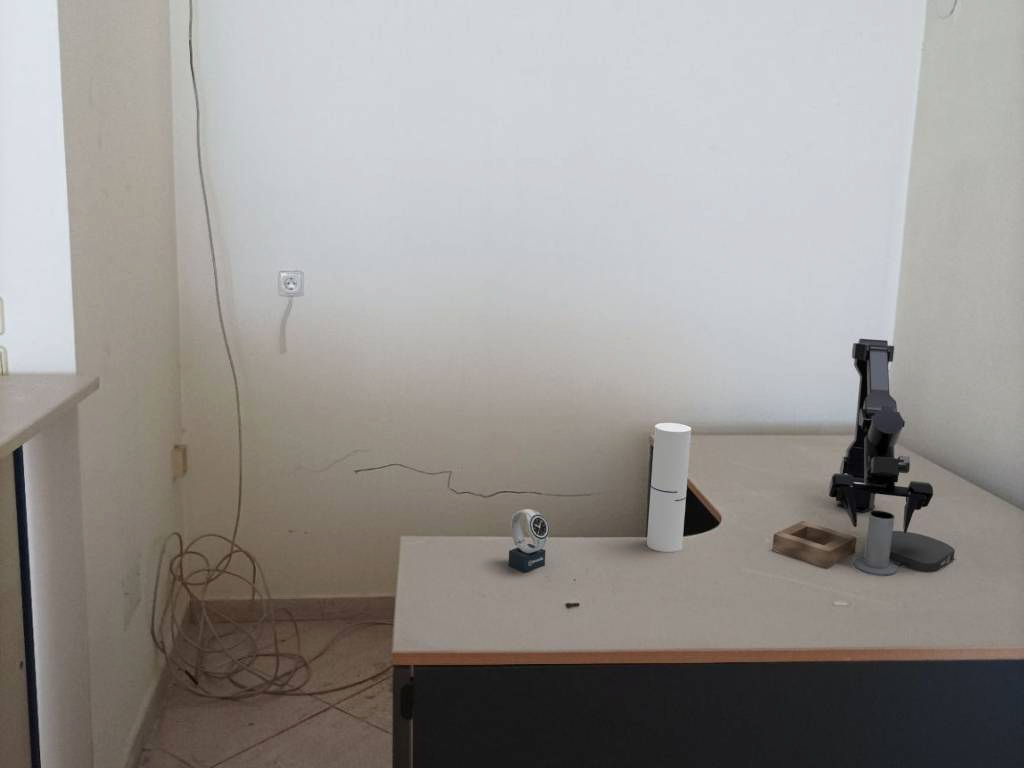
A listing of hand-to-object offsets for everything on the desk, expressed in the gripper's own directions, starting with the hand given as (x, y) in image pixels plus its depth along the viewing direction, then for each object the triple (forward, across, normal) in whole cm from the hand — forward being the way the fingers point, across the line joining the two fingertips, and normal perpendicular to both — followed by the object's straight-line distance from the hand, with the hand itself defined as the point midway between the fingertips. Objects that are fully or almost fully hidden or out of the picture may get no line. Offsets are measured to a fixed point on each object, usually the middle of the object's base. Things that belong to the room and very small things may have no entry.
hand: (880, 528), depth 180 cm
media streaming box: (0, +8, +13) cm, 15 cm away
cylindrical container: (+7, -41, +4) cm, 42 cm away
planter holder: (+2, -11, +9) cm, 15 cm away
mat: (+6, 0, +6) cm, 8 cm away
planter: (+5, 0, +6) cm, 8 cm away
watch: (+21, -65, -9) cm, 69 cm away
